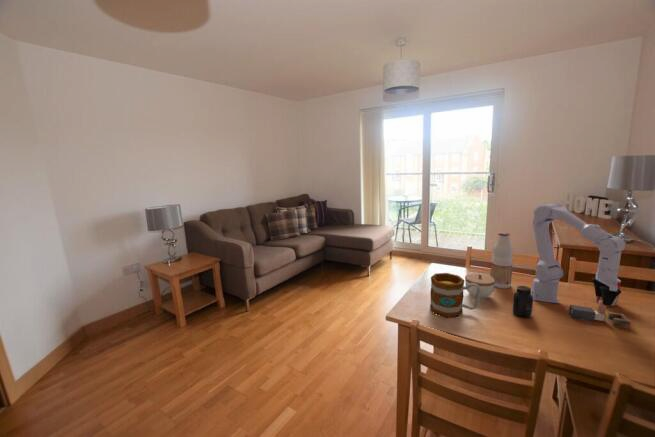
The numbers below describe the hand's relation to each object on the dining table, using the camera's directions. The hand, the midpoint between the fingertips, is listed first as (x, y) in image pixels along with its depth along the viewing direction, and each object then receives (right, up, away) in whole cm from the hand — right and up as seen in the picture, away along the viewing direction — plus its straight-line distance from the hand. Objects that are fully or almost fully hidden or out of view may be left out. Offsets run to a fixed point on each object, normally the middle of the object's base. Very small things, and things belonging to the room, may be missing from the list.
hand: (603, 300), depth 113 cm
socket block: (+5, -9, -1) cm, 10 cm away
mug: (-53, -9, +13) cm, 55 cm away
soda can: (+15, -5, +14) cm, 21 cm away
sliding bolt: (-3, -8, +3) cm, 9 cm away
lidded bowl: (-35, -5, +26) cm, 44 cm away
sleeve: (-5, -8, +4) cm, 10 cm away
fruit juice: (-19, -2, +37) cm, 41 cm away
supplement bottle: (-26, -8, +9) cm, 29 cm away
